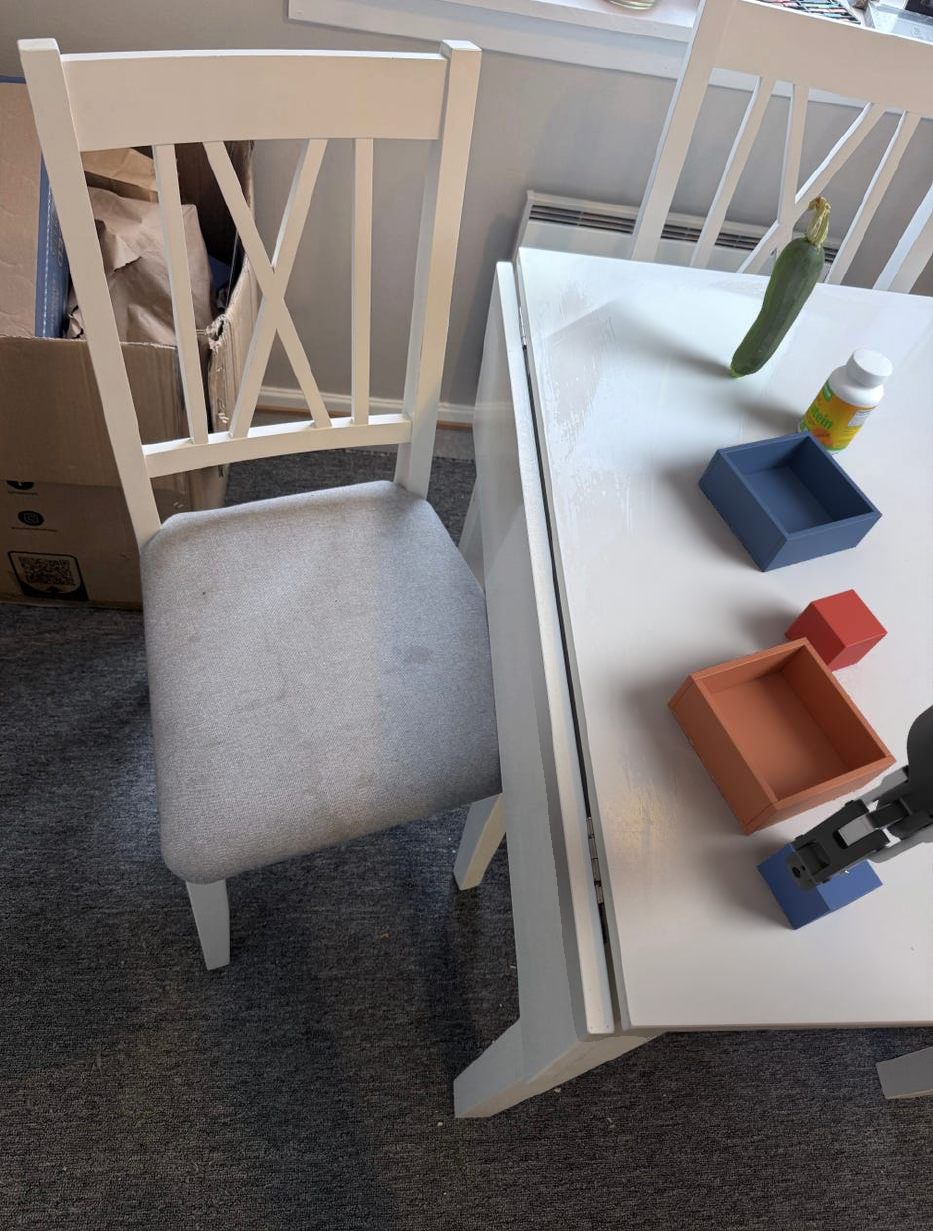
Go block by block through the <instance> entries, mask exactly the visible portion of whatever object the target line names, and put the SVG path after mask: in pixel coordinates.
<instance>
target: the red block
mask: <svg viewBox="0 0 933 1231" xmlns="http://www.w3.org/2000/svg"><path fill="white" fill-rule="evenodd" d="M784 634H785V636H786V638H787V639H788V640H789V642H791V641H794V640H798V639H801V638H804V637H806V638H807V640H808V641H809V643H810V644H811V645H812V647H813V648H814V649H815V651H816V652H817V653H818V655H819V656H820V657H821V659H822V660H823V661H824V663H825V664H826V666H827V667H828V668H829V670H830V671H831V672H832V673H833V672H835V671H838V670H841V669H845V668H847V667H850V666H854V665H856V664H858V663H859V662H860V661H861V660H862V659H863V658H864V657H865V656H866V655H867V654H869V652H870V651H871V650H872V649H873V648H874V647H876V645H878V643H880V641H881V640H883V638H885V637H886V636H887V635H888V634H889V632H888V631H887V630H886V628H885V626H884V625H882V623H881V622H880V621H879V619H878V618H877V617H876V616H875V614H874V613H873V612H872V610H870V608H869V607H868V606H867V604H866V603H865V601H863V599H862V598H861V597H860V596H859V594H858V593H857V592H856V591H855V590H854V589H853V588H851V589H848V590H844V591H842V592H839V593H838V592H837V593H835V594H832V595H828V596H825V597H822V598H819V599H815V600H812V601H810V602H809V603H808V605H807V606H806V607H805V608H804V609H803V611H802V612H801V613H800V614H799V615H798V616H797V617H796V618H795V620H794V621H793V622H792V624H790V626H789V627H788V628H787V629H786V631H784Z"/></svg>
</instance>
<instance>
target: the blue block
mask: <svg viewBox="0 0 933 1231" xmlns="http://www.w3.org/2000/svg"><path fill="white" fill-rule="evenodd" d="M793 841H795V839H794V840H791V841H790V842H787V843H786V844H785V845H783V846H782V847H781V848H779V849H778V850H777V851H775V852H774V853H772V854H771V855H770V856H768V857H767V858H766V859H765V860H763V861H762V862H760V863H759V864H758V865H757V866H756V868H757V870H758V872H759V873H760V875H761V877H762V878H763V880H764V882H765V883H766V884H767V886H768V888H769V890H770V891H771V893H772V894H773V896H774V898H775V900H776V901H777V903H778V905H779V906H780V908H781V910H782V911H783V913H784V915H785V916H786V918H787V919H788V921H789V923H790V924H791V926H792V928H793V929H794V931H797V930H799V929H801V928H803V927H805V926H807V925H809V924H811V923H813V922H815V921H817V920H821V918H824V917H826V916H828V915H829V914H832V913H834V912H836V911H838V910H841V909H843V908H845V907H846V906H849V905H850V904H852V903H854V902H855V901H857V900H859V899H861V898H862V897H864V896H866V895H868V894H869V893H872V892H873V891H875V890H877V889H878V888H881V887H882V886H884V883H883V882H882V880H881V879H880V877H879V875H878V874H877V873H876V871H875V870H874V869H873V866H872V865H871V864H870V862H869V861H868V860H866V861H864V862H862V863H860V864H858V865H856V866H855V867H853V868H851V869H849V870H848V871H849V873H847V874H845V875H843V876H840V874H839V875H837V876H835V877H832V878H831V880H830V881H829V882H827V883H825V884H823V883H822V884H820V885H819V886H817V887H815V888H813V889H811V890H808V891H804V890H803V889H802V888H801V887H800V886H798V885H797V883H796V882H795V880H794V878H793V877H792V875H791V873H790V872H789V870H788V869H787V867H786V857H787V856H788V855H790V854H791V853H793V852H794V849H793V848H792V846H791V845H790V844H791V843H792V842H793Z"/></svg>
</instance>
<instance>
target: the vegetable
mask: <svg viewBox="0 0 933 1231" xmlns="http://www.w3.org/2000/svg"><path fill="white" fill-rule="evenodd" d="M831 208H832V207H831V205H830V203H828V201H827V199H826V198H825V197H824V196H816V197H814V198H813V199H812V200H810V202H809V203H808V209H807V212H810V211H812V210H814V209H816V210H815V211H814V212H813V213H812V215H811V217H810V220H809V222H808V224H807V230H806V232H804V233H803V235H804V236H802V237H797V238H794V239H793V240H791V241H789V243H787V244H786V245H785V247H784V248H783V249H782V250H781V252H780V254H779V255H778V257H777V259H776V260H775V262H774V266H773V269H772V272H771V273H770V274H771V275H770V278H769V281H768V283H767V286H766V289H765V293H764V296H763V300H762V305H761V308H760V311H759V313H758V315H757V317H756V319H755V320H754V322H753V323H752V324H751V326H750V327H749V329H748V331H747V332H746V334H745V335H744V336H743V339H742V341H741V342H740V344H739V345H738V347H737V348H736V349H735V351H734V353H733V355H732V357H731V362H730V364H729V368H730V369H731V371H730V375H731V376H733V377H734V378H737V379H738V378H743V377H745V376H749V375H753V374H756V373H758V372H759V371H760V370H762V368H763V367H764V366H765V365H766V364H767V363H768V361H769V360H770V359H771V358H772V357H773V355H774V354H775V353H776V351H778V350H777V349H778V348H779V346H780V345H781V343H782V342H783V341H784V338H785V337H786V335H787V333H788V332H789V330H790V329H791V327H792V326H793V325H794V323H795V322H796V320H797V318H798V317H799V314H800V313H801V312H802V309H803V307H804V305H805V303H806V302H807V301H808V299H809V298H810V296H811V295H812V293H813V291H814V289H815V287H816V285H817V283H818V280H819V279H820V276H821V274H822V272H823V270H824V265H825V260H826V253H825V249H824V247H823V242H824V241H825V240H826V238H827V236H828V232H829V224H830V223H829V220H830V216H831V211H830V209H831Z"/></svg>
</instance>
